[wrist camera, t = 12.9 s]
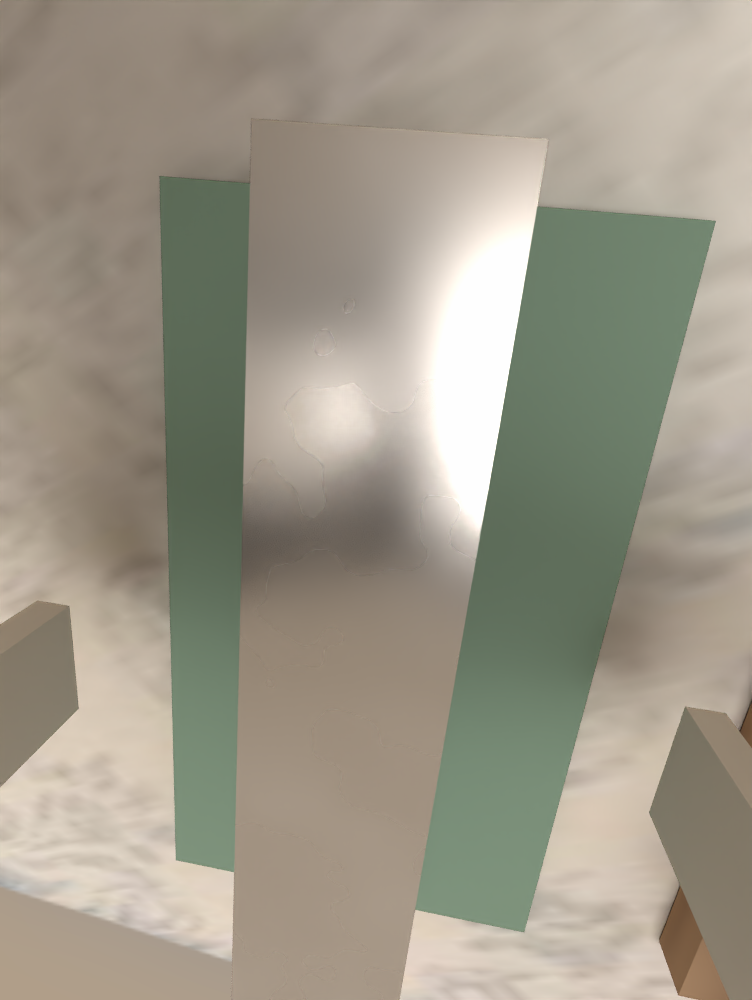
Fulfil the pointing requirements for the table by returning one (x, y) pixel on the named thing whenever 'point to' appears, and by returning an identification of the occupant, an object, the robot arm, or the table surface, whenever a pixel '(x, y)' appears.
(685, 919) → the rack
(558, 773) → the mat
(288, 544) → the rail
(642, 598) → the table surface
